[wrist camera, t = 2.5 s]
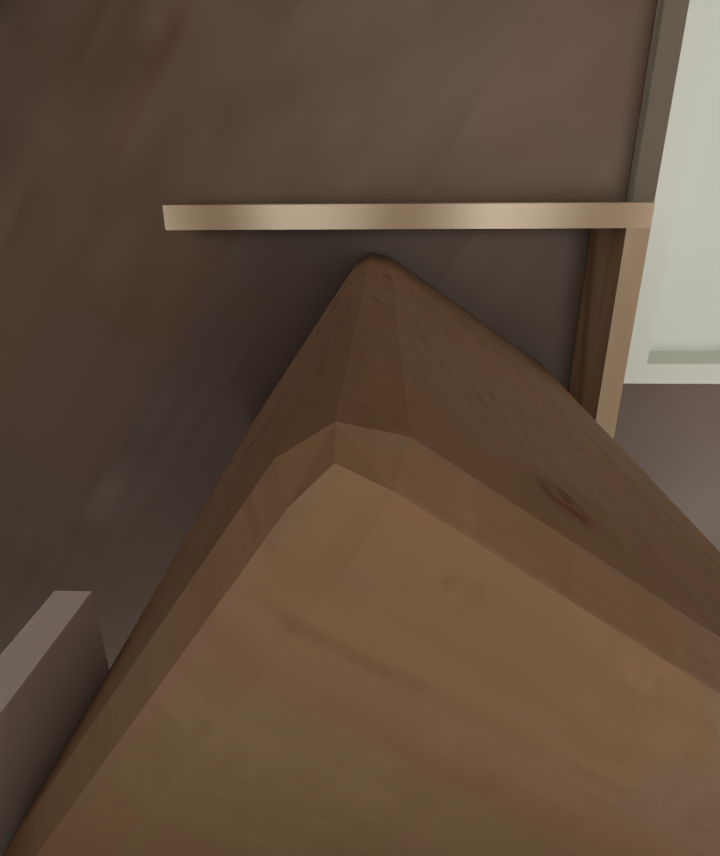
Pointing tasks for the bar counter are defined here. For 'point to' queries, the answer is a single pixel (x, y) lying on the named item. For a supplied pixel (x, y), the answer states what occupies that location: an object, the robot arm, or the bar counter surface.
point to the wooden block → (410, 626)
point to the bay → (609, 221)
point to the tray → (679, 199)
